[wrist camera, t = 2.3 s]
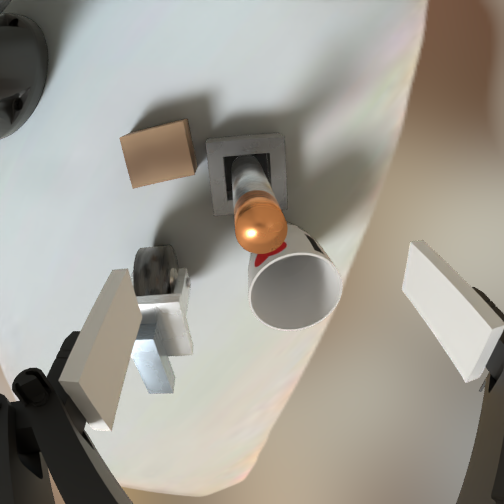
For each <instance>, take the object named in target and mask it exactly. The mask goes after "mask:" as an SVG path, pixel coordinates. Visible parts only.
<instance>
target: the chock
mask: <svg viewBox="0 0 504 504" xmlns="http://www.w3.org/2000/svg"><path fill="white" fill-rule="evenodd" d="M120 142H121V146H122V150H123V154H124V158H125V161H126V165H127V169H128V173H129V176H130V180H131V184H132V187H133V189H134V188H138V187H142V186H146V185H150V184H155V183H159V182H163V181H168V180H172V179H177V178H181V177H186V176H191V175H195V172H196V169H197V167H198V166H197V162H196V157H195V152H194V148H193V143H192V138H191V133H190V128H189V123H188V119H183V120H179V121H174V122H170V123H166V124H162V125H158V126H154V127H150V128H146V129H143V130H139V131H135V132H132V133H129V134H127V135H124V136H122V137H120Z"/></svg>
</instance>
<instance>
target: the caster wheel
mask: <svg viewBox="0 0 504 504" xmlns="http://www.w3.org/2000/svg"><path fill="white" fill-rule="evenodd" d="M130 278H131V282H132V285H133V288H134V292H135V295H136V298H137V302H138V305H139V308H140V311H141V314H142V320H141V323H140V327H139V330H138V333H137V336H136V340H135V343H134V347H133V350H132V354H131V357H133V360H134V362H135V364H136V366H137V369H138V371H139V373H140V375H141V378H142V380H143V382H144V384H145V386H146V388H147V390H148V392H149V393H173V392H174V384H175V375H174V372H173V370H172V367H171V364H170V361H169V358H168V356H184V355H193V342H192V339H191V335H190V331H189V327H188V323H187V318H186V315H187V308H188V301H189V294H190V286H191V284H190V278H189V277H188V272H187V268H179V267H178V262H177V258H176V254H175V252H174V249H173V247H172V246H171V245H165V246H155V247H146V248H140V249H139V250H138V252H137V254H136V257H135V261H134V270H133V273H132V274H131V277H130Z"/></svg>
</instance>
